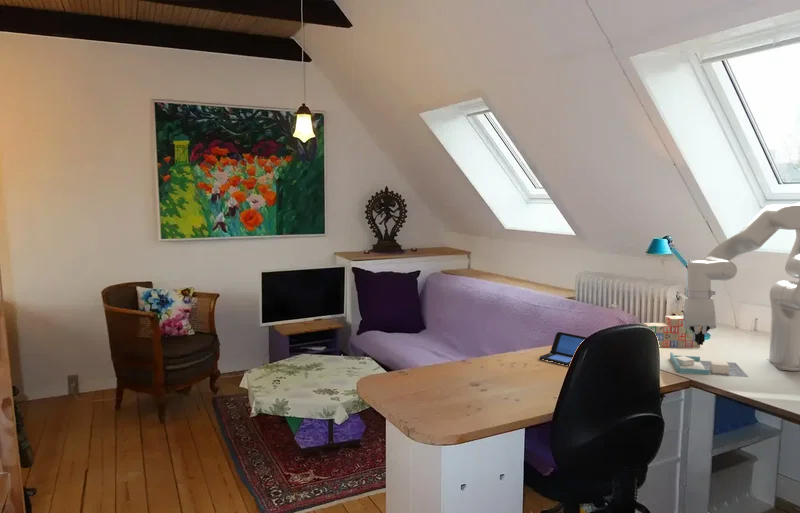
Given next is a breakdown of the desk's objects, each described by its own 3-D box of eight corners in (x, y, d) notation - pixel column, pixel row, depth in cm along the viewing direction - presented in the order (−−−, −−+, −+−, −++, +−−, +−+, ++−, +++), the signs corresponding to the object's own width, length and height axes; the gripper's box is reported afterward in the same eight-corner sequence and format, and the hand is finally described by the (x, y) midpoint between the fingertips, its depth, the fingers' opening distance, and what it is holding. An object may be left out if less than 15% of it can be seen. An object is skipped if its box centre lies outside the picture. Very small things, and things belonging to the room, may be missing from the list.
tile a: (694, 367, 213) (694, 359, 213) (683, 368, 212) (684, 360, 212) (683, 363, 218) (684, 356, 218) (673, 365, 217) (674, 357, 217)
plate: (735, 366, 215) (735, 362, 214) (748, 381, 198) (748, 376, 198) (699, 364, 218) (699, 360, 218) (709, 378, 202) (709, 374, 202)
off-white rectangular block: (725, 369, 206) (726, 361, 206) (728, 373, 202) (729, 365, 202) (709, 369, 208) (710, 360, 207) (712, 372, 203) (713, 364, 203)
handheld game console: (538, 360, 228) (538, 337, 227) (556, 353, 237) (556, 331, 236) (574, 368, 217) (574, 344, 216) (592, 361, 226) (592, 337, 225)
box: (699, 364, 218) (699, 354, 218) (709, 378, 202) (709, 367, 201) (670, 362, 221) (670, 352, 220) (677, 376, 205) (677, 365, 204)
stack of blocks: (647, 348, 242) (648, 318, 241) (642, 344, 248) (643, 315, 247) (700, 347, 241) (701, 318, 240) (693, 343, 247) (694, 315, 246)
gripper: (719, 292, 213) (720, 341, 215) (674, 292, 217) (675, 341, 219) (724, 296, 206) (725, 347, 208) (678, 296, 210) (679, 346, 212)
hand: (699, 343), depth 213 cm, fingers closed
